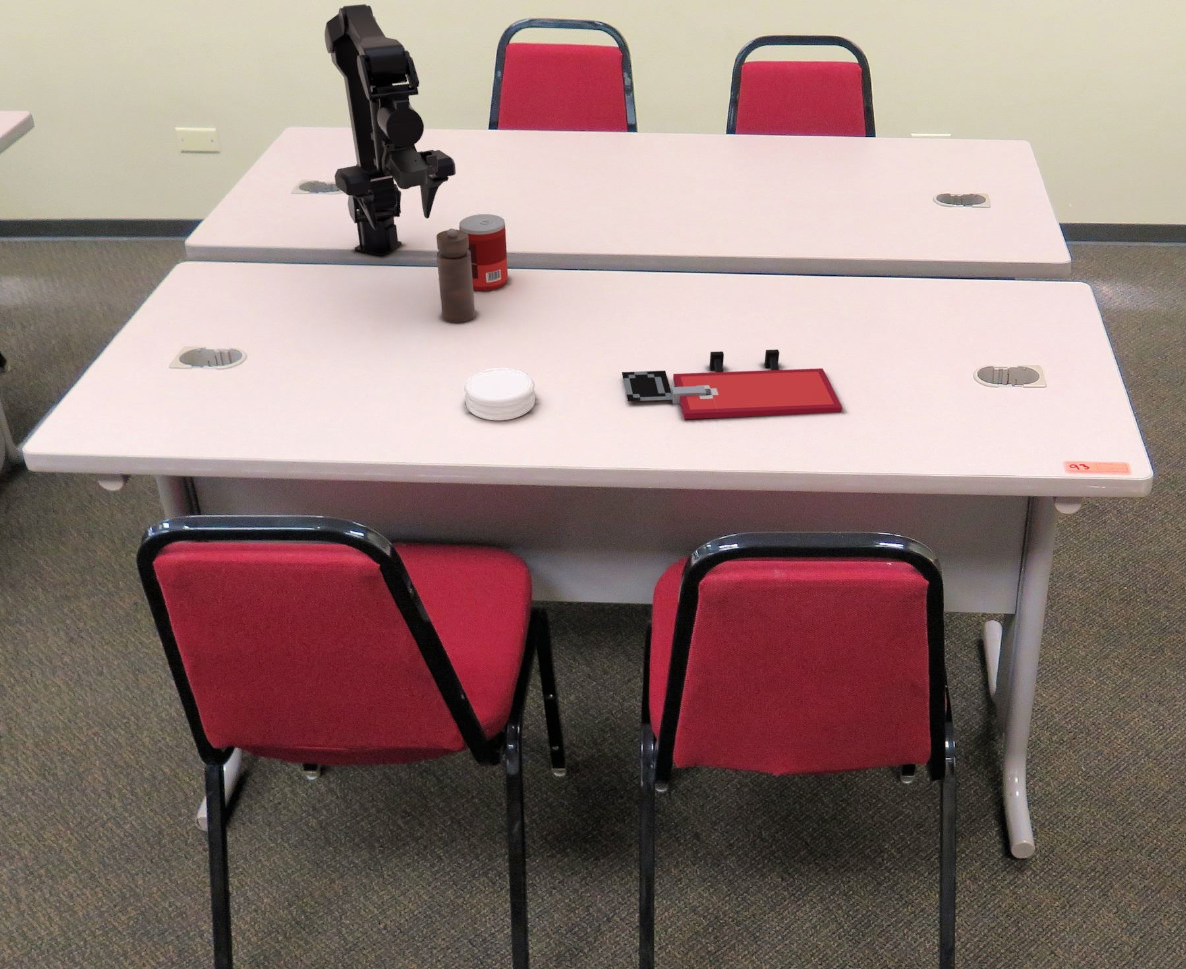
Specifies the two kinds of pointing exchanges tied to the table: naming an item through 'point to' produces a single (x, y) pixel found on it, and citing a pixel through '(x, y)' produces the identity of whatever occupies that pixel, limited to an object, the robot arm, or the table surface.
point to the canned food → (486, 250)
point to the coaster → (499, 394)
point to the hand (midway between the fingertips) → (401, 223)
